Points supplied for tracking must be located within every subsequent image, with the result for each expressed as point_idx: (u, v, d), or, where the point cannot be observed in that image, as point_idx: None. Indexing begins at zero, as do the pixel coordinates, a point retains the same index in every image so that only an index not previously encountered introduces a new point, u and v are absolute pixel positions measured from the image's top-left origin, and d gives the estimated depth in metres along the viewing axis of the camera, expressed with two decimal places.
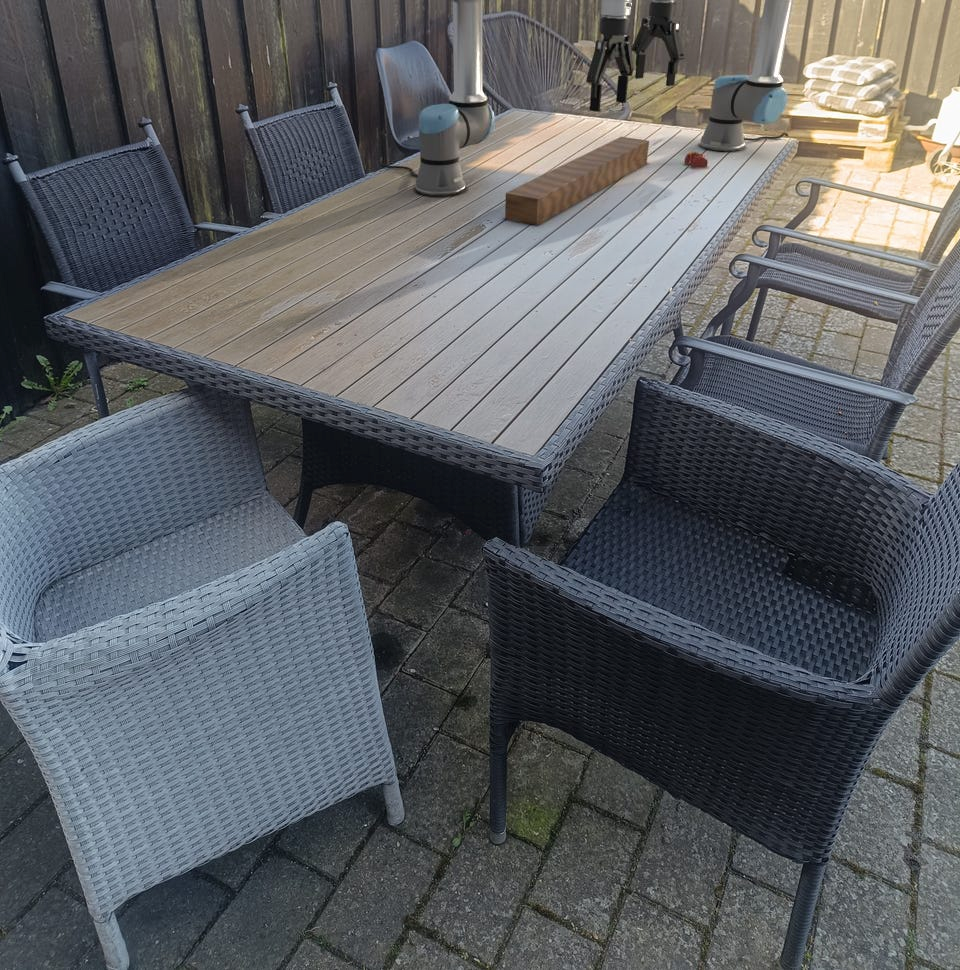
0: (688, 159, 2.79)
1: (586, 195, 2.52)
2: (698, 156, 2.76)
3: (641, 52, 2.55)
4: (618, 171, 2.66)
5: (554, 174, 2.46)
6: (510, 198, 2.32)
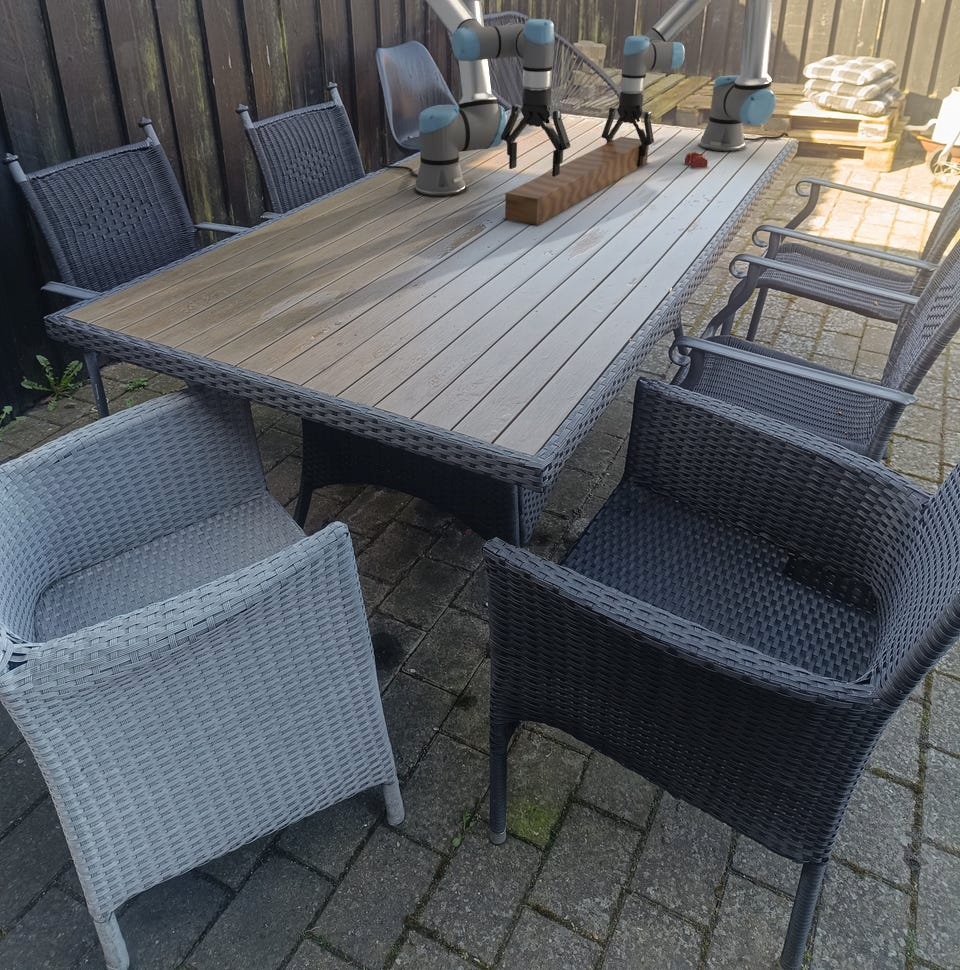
0: (688, 159, 2.79)
1: (586, 195, 2.52)
2: (698, 156, 2.76)
3: None
4: (618, 171, 2.66)
5: None
6: (510, 198, 2.32)
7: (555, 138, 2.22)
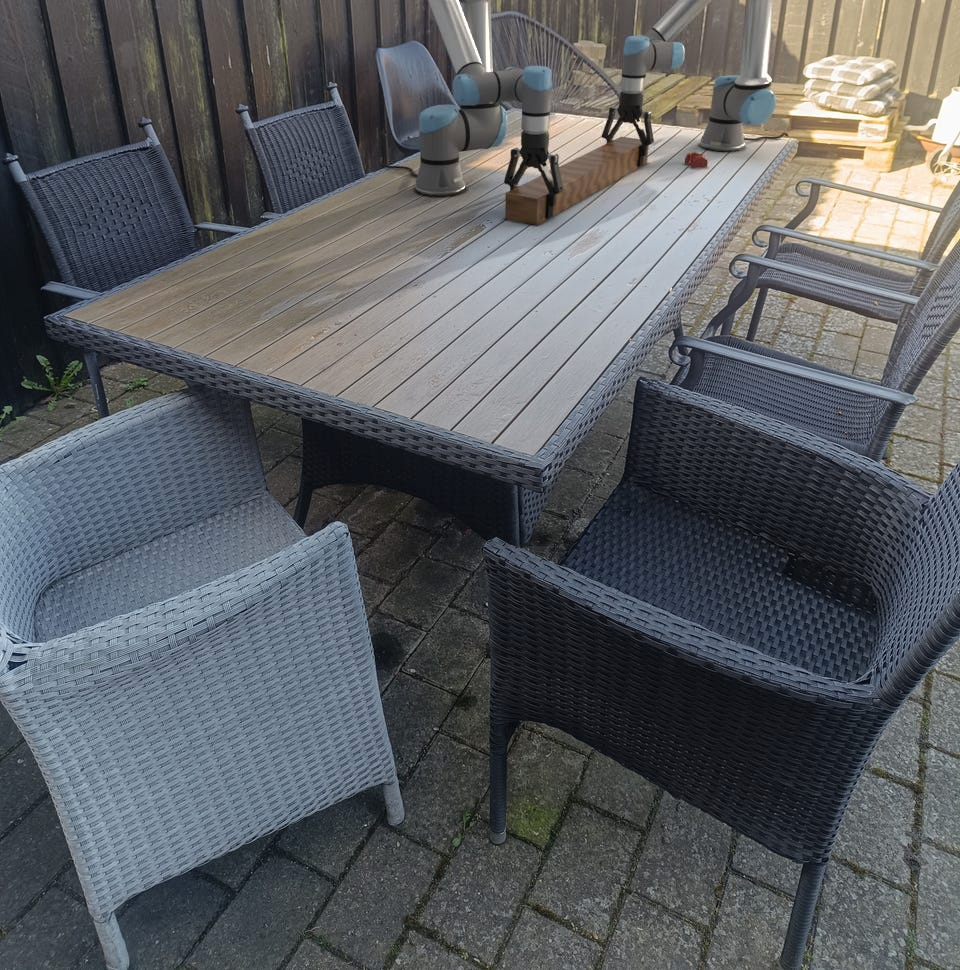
0: (688, 159, 2.79)
1: (586, 195, 2.52)
2: (698, 156, 2.76)
3: None
4: (618, 171, 2.66)
5: None
6: (510, 198, 2.32)
7: (550, 181, 2.29)
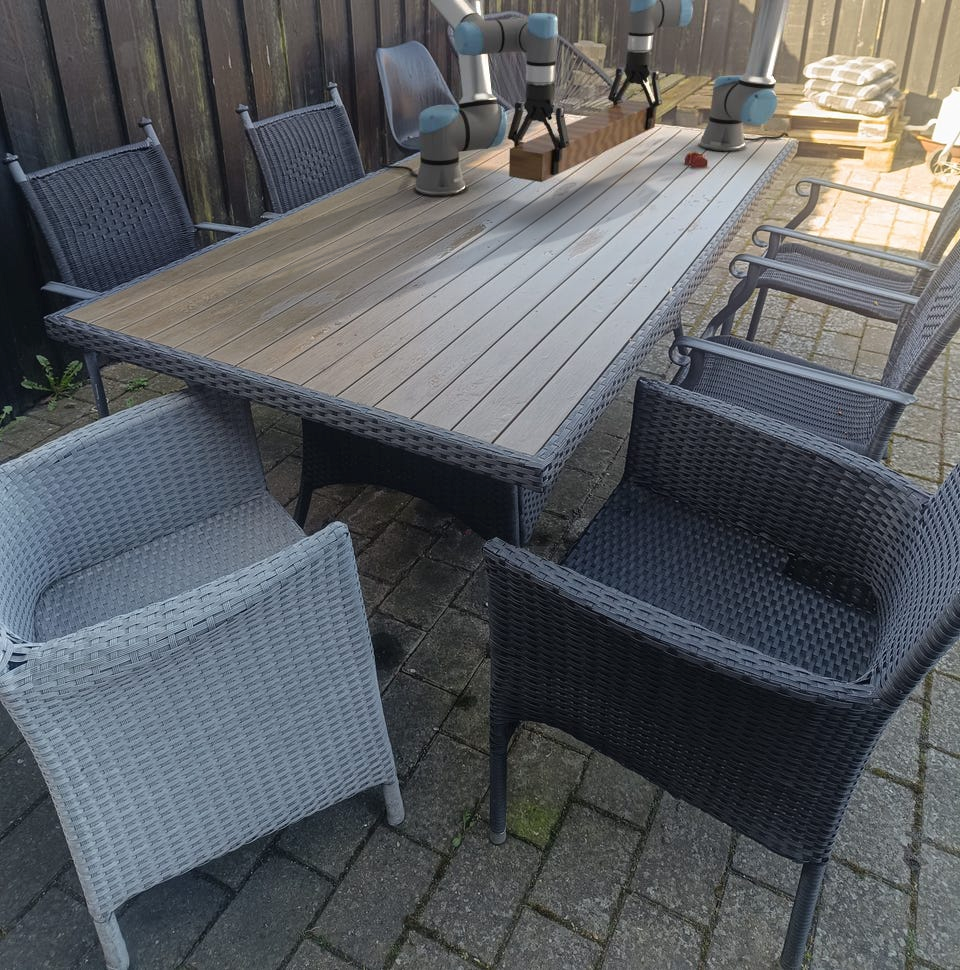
0: (688, 159, 2.79)
1: (593, 155, 2.44)
2: (698, 156, 2.76)
3: None
4: (626, 133, 2.58)
5: None
6: (514, 154, 2.24)
7: (555, 135, 2.21)
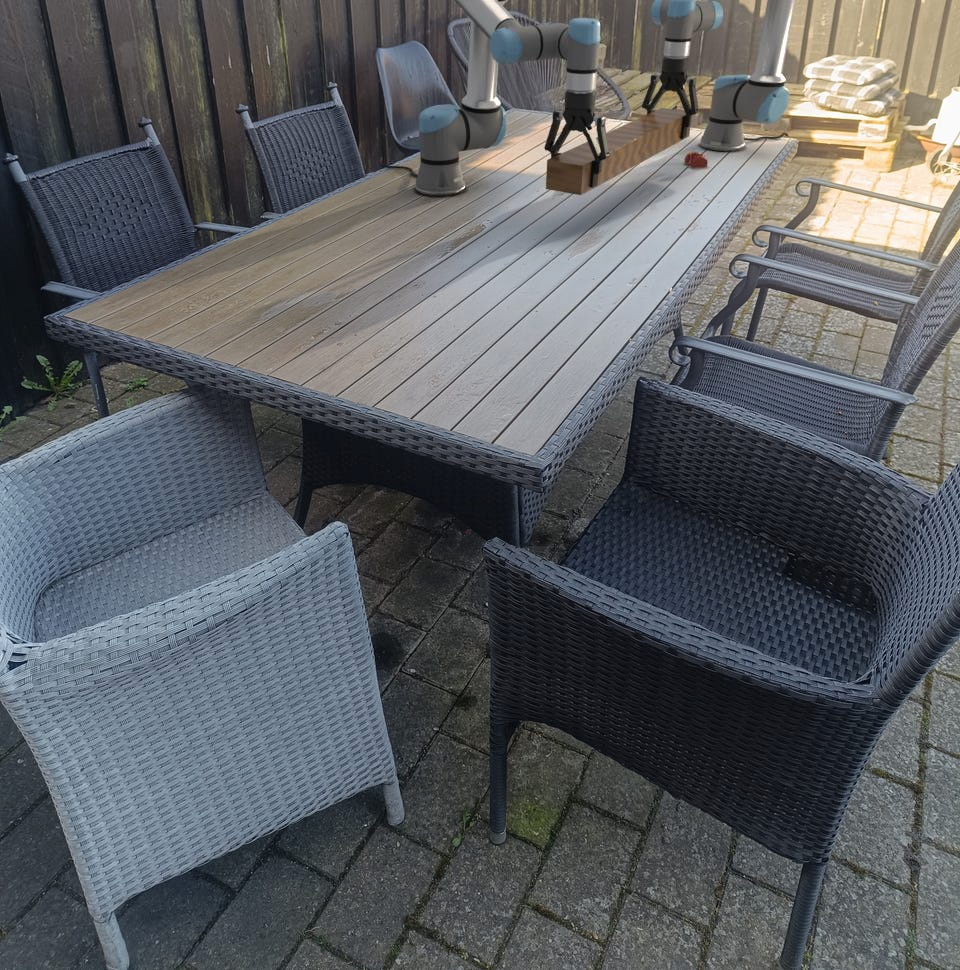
0: (688, 159, 2.79)
1: (630, 166, 2.34)
2: (698, 156, 2.76)
3: None
4: (662, 143, 2.48)
5: None
6: (552, 166, 2.14)
7: (595, 146, 2.11)
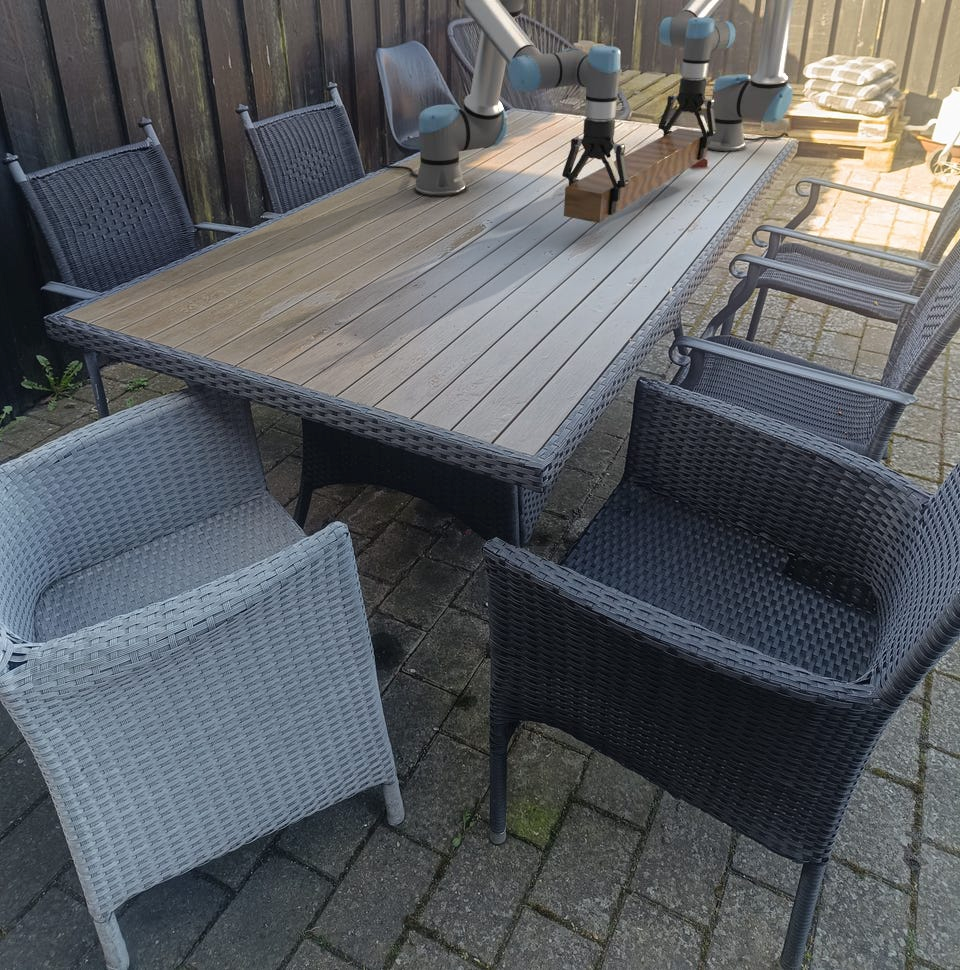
0: None
1: (648, 190, 2.32)
2: None
3: None
4: (679, 165, 2.46)
5: None
6: (570, 193, 2.12)
7: (614, 174, 2.09)
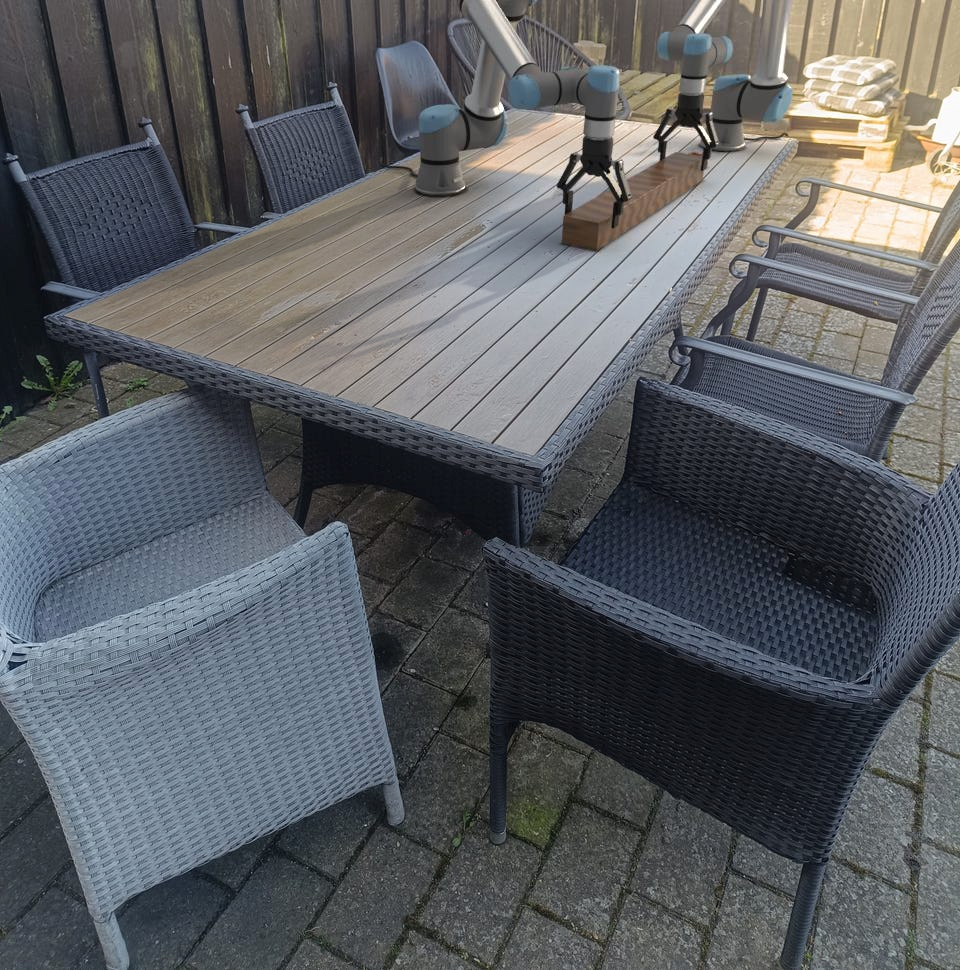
0: None
1: (645, 216, 2.36)
2: None
3: None
4: (676, 190, 2.50)
5: (612, 194, 2.30)
6: (568, 222, 2.16)
7: (616, 189, 2.11)
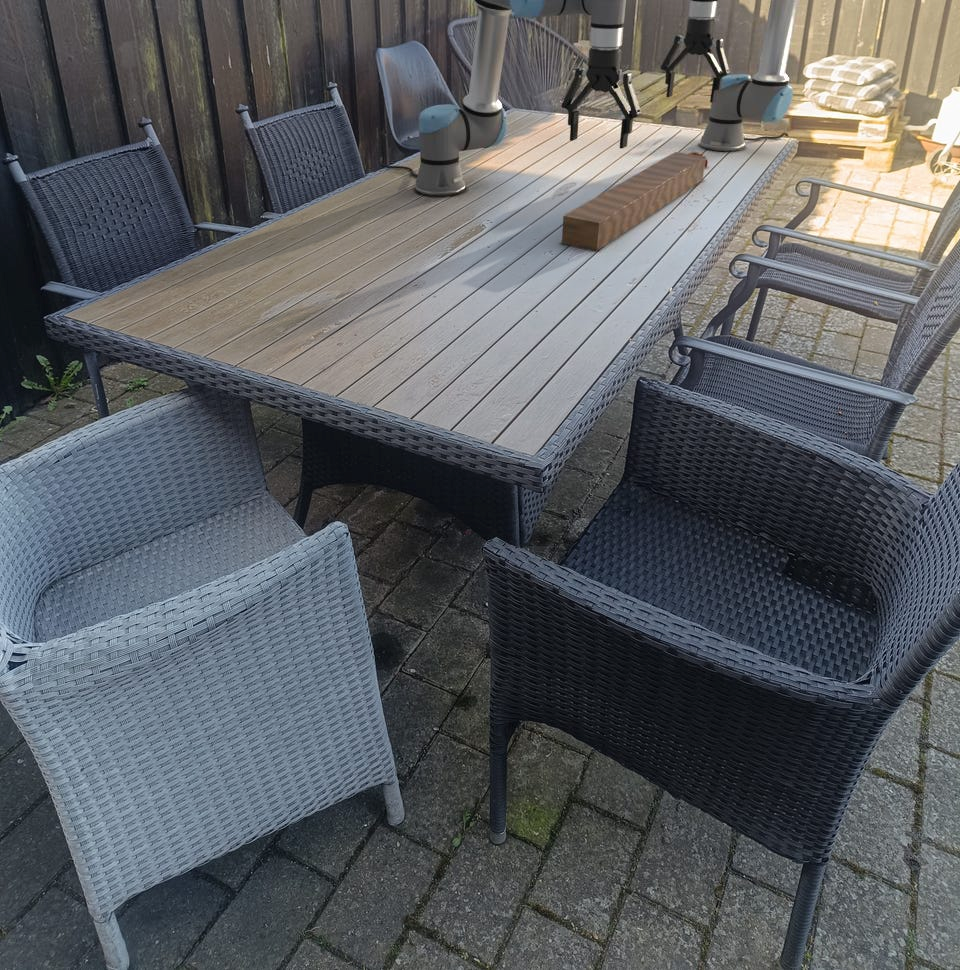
0: None
1: (645, 216, 2.36)
2: None
3: None
4: (676, 190, 2.50)
5: (612, 194, 2.30)
6: (568, 222, 2.16)
7: (624, 104, 1.99)
